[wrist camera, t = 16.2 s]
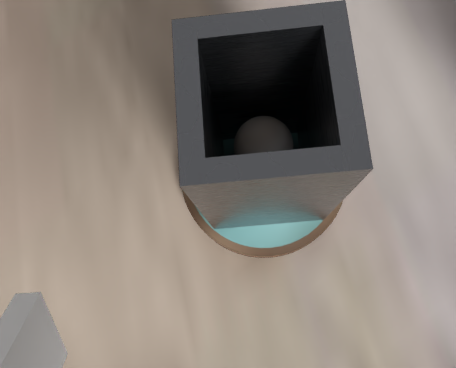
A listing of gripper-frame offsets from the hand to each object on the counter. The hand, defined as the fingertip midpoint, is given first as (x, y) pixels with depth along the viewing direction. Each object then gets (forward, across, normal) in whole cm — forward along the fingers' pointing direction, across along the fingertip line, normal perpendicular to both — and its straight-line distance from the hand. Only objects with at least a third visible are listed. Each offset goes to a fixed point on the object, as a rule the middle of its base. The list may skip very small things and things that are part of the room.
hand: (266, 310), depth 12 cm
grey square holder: (+16, +1, -4) cm, 16 cm away
